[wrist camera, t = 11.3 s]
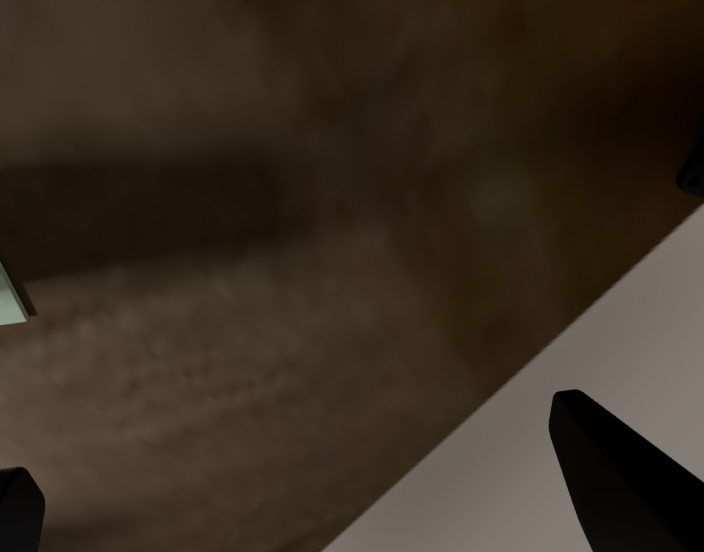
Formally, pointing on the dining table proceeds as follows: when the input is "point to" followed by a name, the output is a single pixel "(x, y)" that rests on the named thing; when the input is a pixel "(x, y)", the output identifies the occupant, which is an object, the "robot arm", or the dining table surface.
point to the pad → (10, 302)
